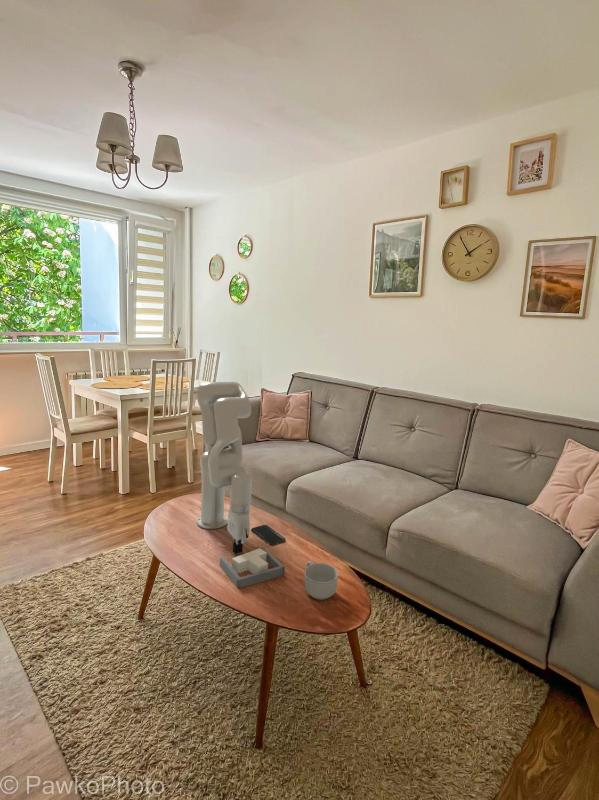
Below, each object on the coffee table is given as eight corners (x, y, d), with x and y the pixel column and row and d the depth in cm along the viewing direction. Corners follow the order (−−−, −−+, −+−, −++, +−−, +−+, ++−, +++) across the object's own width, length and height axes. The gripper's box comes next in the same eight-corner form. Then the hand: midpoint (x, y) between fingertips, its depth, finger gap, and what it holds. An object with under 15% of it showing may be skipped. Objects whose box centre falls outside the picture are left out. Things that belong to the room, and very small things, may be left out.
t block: (231, 568, 154) (232, 558, 153) (259, 558, 162) (259, 548, 161) (248, 582, 147) (249, 571, 146) (276, 570, 155) (277, 559, 154)
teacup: (341, 602, 140) (343, 579, 138) (308, 606, 137) (310, 582, 135) (326, 577, 153) (328, 556, 151) (296, 580, 150) (297, 558, 148)
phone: (265, 524, 187) (286, 539, 176) (265, 526, 188) (286, 541, 176) (249, 528, 183) (270, 544, 171) (249, 531, 183) (270, 547, 171)
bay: (219, 565, 156) (220, 557, 155) (263, 554, 165) (264, 546, 164) (238, 588, 143) (238, 580, 143) (284, 575, 152) (284, 567, 152)
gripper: (222, 499, 164) (220, 545, 168) (239, 516, 152) (236, 564, 155) (240, 496, 168) (238, 540, 172) (258, 512, 156) (255, 559, 159)
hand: (237, 552), depth 164 cm, fingers closed
